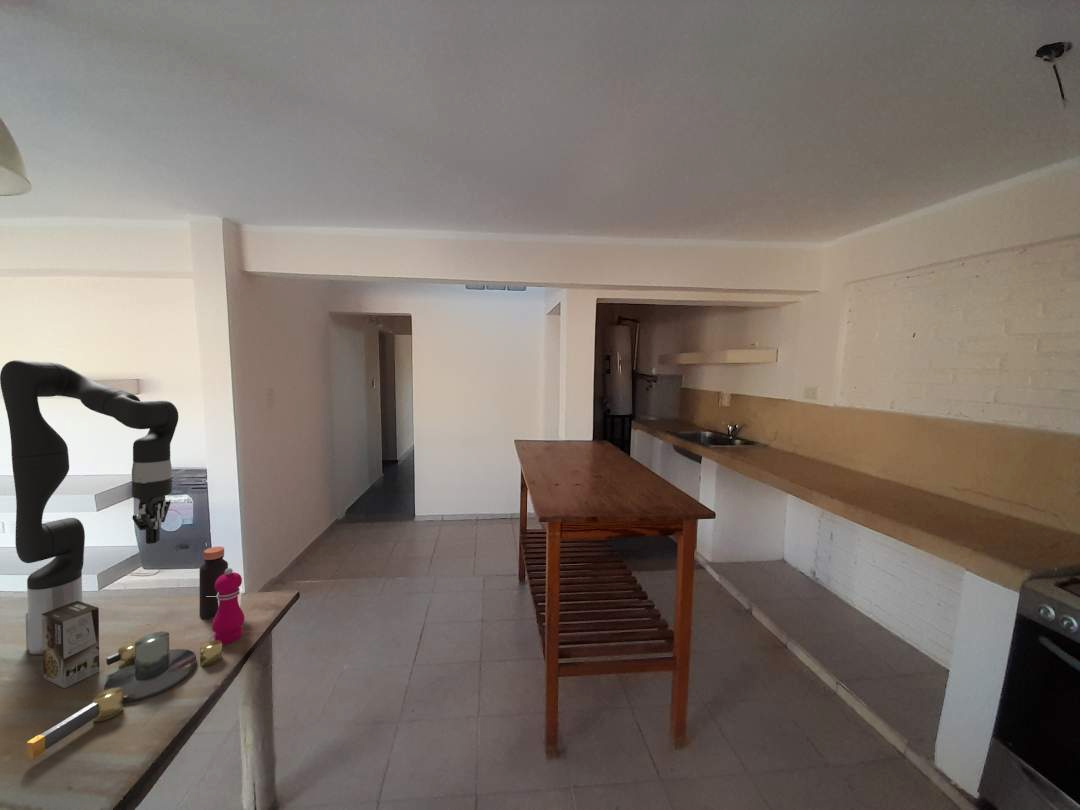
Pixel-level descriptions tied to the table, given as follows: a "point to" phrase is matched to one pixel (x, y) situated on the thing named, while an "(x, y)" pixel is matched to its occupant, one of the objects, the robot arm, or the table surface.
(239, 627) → the pepper mill
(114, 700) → the brass head mallet
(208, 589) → the bottle
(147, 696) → the base
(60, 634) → the coffee box
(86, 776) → the table surface
